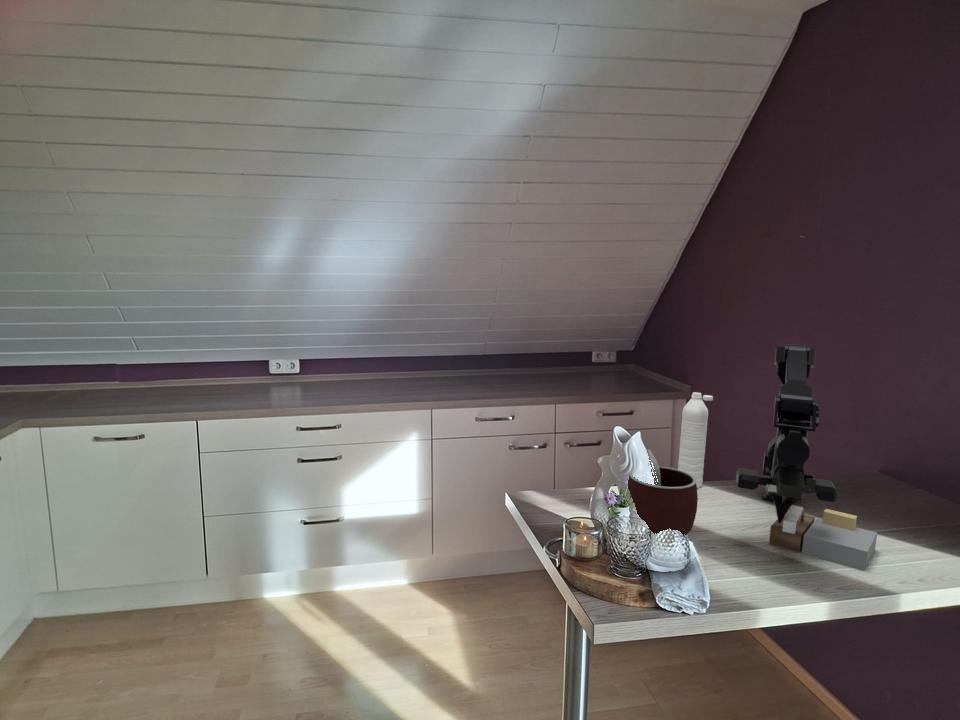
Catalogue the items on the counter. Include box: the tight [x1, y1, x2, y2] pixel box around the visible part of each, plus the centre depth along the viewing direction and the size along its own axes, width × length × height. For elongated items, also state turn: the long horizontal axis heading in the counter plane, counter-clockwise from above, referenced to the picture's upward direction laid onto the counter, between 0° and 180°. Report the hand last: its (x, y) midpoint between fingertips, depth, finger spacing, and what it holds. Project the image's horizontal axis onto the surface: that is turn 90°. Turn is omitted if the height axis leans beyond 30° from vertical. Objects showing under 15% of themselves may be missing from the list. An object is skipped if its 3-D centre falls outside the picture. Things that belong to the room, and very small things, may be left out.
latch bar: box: [782, 504, 806, 534], centre depth 141 cm, size 11×3×2 cm, turn 147°
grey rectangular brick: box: [801, 508, 878, 572], centre depth 138 cm, size 12×12×7 cm
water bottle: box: [677, 391, 714, 489], centre depth 173 cm, size 9×6×25 cm
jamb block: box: [768, 511, 816, 553], centre depth 144 cm, size 12×6×4 cm, turn 141°
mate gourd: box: [627, 449, 699, 536], centre depth 132 cm, size 16×14×20 cm
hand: (779, 522), depth 140 cm, fingers closed
